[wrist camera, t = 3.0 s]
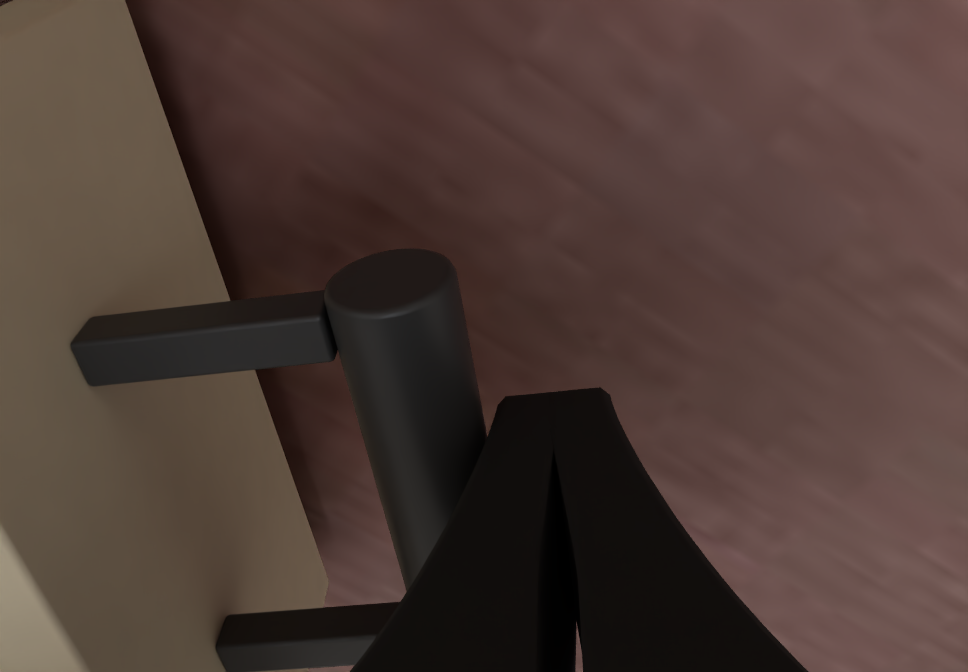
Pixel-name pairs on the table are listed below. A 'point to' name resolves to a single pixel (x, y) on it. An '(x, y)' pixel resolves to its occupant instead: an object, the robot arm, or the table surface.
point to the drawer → (183, 389)
